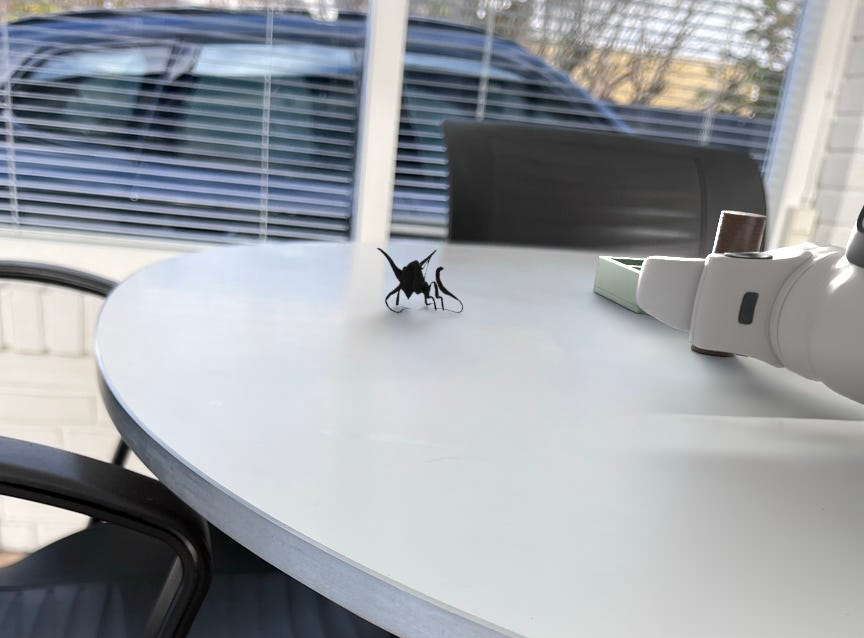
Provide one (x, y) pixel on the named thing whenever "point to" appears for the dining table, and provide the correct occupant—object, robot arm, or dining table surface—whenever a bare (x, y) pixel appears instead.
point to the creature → (416, 282)
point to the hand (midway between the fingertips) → (723, 276)
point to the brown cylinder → (736, 242)
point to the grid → (619, 280)
